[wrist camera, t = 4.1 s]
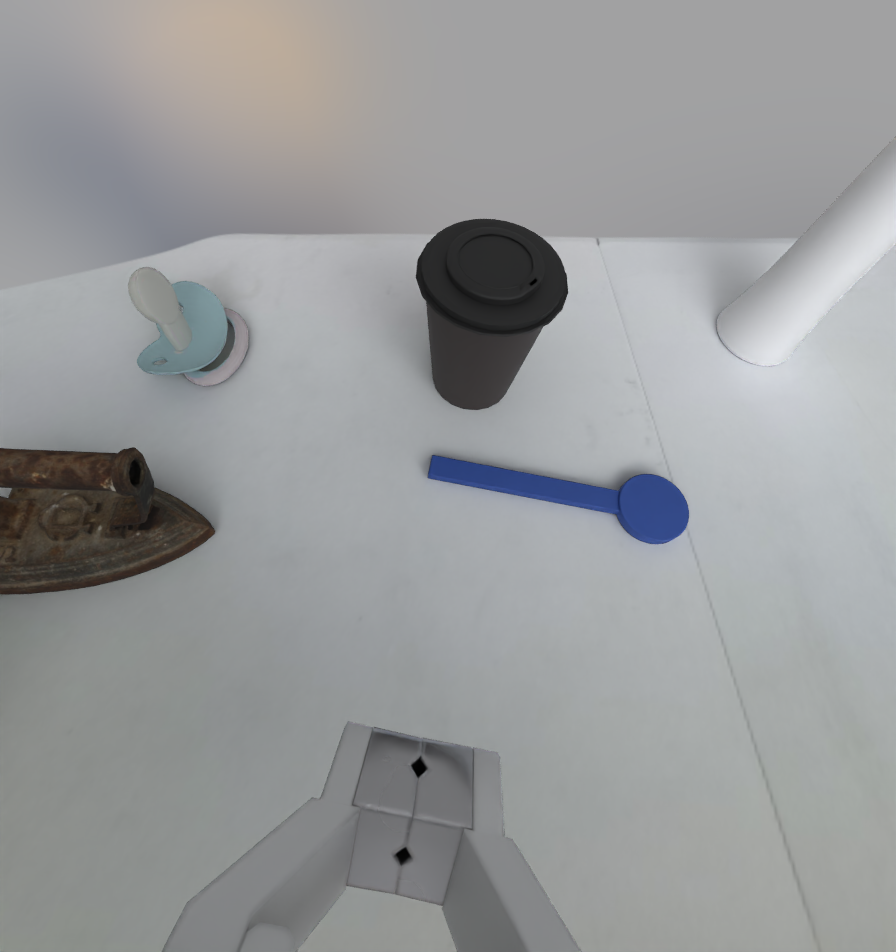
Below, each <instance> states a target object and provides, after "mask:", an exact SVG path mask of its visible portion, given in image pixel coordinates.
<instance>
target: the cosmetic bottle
mask: <svg viewBox="0 0 896 952" xmlns="http://www.w3.org/2000/svg"><path fill="white" fill-rule="evenodd" d="M895 244H896V137H895V138H894V139H893V140H892V141H891V142H890V143H889V144H888V145H887V146H886V147H885V148H884V149H883V150H882V151H881V152H880V153H879V155H878V156H877V157H876V158H875V159H874V160H873V161H872V162H871V163H870V164H869V165H868V166H867V167H866V168H865V169H864V170H863V172H862V173H861V174H860V175H859V176H858V177H857V178H856V179H855V180H854V181H853V182H852V183H851V184H850V185H849V186H848V187H847V188H846V190H845V191H844V192H843V193H842V194H841V195H840V196H839V197H838V198H837V199H836V201H834V202H833V203H832V204H831V206H830V207H829V208H828V209H827V210H826V211H825V212H824V213H823V214H822V215H821V216H820V217H819V218H818V219H817V220H816V221H815V222H814V224H813V225H812V226H811V227H810V228H809V229H808V230H807V231H806V232H805V233H804V234H803V235H802V236H801V237H800V238H799V239H798V240H797V241H796V242H795V244H794V245H793V246H792V247H791V248H790V249H789V250H788V251H787V252H786V253H785V254H784V255H783V256H782V257H781V258H780V259H779V260H778V261H777V262H776V263H775V264H774V265H773V266H772V267H771V268H770V269H769V270H768V271H767V272H766V273H765V274H764V275H762V276H761V277H760V278H759V279H758V280H757V281H756V282H755V283H754V284H753V285H752V286H751V287H750V288H749V289H747V290H746V291H745V292H744V293H743V294H742V295H741V296H739V297H738V298H737V299H736V300H735V301H734V302H732V303H731V304H730V305H729V306H728V307H726V308H725V309H724V310H723V311H722V312H721V313H720V315H719V317H718V320H717V331H718V334H719V337H720V339H721V341H722V342H723V344H724V345H725V346H726V347H727V348H728V349H729V350H730V351H731V352H732V353H733V354H734V355H736V356H737V357H739V358H741V359H742V360H744V361H747V362H749V363H752V364H755V365H760V366H774V365H778V364H781V363H783V362H785V361H786V360H788V359H789V358H790V357H791V355H792V354H793V353H794V352H795V350H796V349H797V348H798V346H799V345H800V344H801V343H802V341H803V340H804V339H805V338H806V336H807V335H808V334H809V333H810V332H811V331H812V329H813V328H814V327H815V326H816V325H817V324H818V323H819V322H820V320H821V319H822V318H823V317H824V316H825V315H826V314H827V313H828V312H829V311H830V310H831V309H832V308H833V306H834V305H835V304H836V303H837V302H838V301H839V300H840V299H841V298H842V297H843V296H844V295H845V294H846V293H847V292H848V291H849V290H850V289H851V288H852V287H853V286H854V285H855V284H856V283H857V282H858V281H859V280H860V279H861V278H862V277H863V276H864V275H865V274H866V273H867V272H868V271H869V270H870V269H871V268H872V267H873V266H874V265H875V264H876V263H877V262H878V261H879V260H880V259H881V258H882V257H883V256H884V255H885V254H886V253H887V252H888V251H889V250H890V249H891V248H892V247H893V246H894V245H895Z"/></svg>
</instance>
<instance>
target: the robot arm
mask: <svg viewBox="0 0 896 952" xmlns="http://www.w3.org/2000/svg"><path fill="white" fill-rule="evenodd" d="M346 886H350V887H356V888H362V889H367V890H373V891H379V892H385V893H391V894H396V895H400V896H404V897H408V898H412V899H417V900H421V901H425V902H429V903H433V904H437V905H441V906H443V907H442V910H443V913H444V916H445V918H446V921H447V924H448V927H449V930H450V932H451V935H452V938H453V941H454V944H455V946H456V949H457V952H582V951H581V950H580V948H579V946H578V945H577V943H576V942H575V940H574V938H573V937H572V935H571V933H570V932H569V930H568V928H567V927H566V925H565V924H564V922H563V920H562V919H561V917H560V915H559V914H558V912H557V910H556V909H555V907H554V906H553V904H552V902H551V901H550V899H549V897H548V896H547V894H546V892H545V891H544V889H543V888H542V886H541V884H540V883H539V881H538V879H537V878H536V876H535V874H534V873H533V871H532V870H531V868H530V866H529V865H528V863H527V861H526V860H525V858H524V856H523V855H522V853H521V852H520V850H519V848H518V847H517V845H516V843H515V842H514V840H513V839H511V838H507V837H505V834H504V816H503V798H502V780H501V762H500V756H499V754H498V752H494V751H489V750H484V749H478V748H472V747H468V746H463V745H458V744H453V743H448V742H443V741H437V740H432V739H427V738H420V737H415V736H411V735H407V734H403V733H398V732H394V731H390V730H385V729H381V728H377V727H374V728H373V727H370V726H366V725H362V724H357V723H353V722H349V721H348V722H347V724H346V726H345V728H344V730H343V733H342V736H341V739H340V742H339V745H338V748H337V751H336V754H335V757H334V760H333V762H332V765H331V768H330V771H329V774H328V777H327V780H326V783H325V786H324V789H323V792H322V795H321V797H320V799H318V798H311V799H310V800H308V801H307V802H306V803H305V804H304V805H302V806H301V807H300V808H299V809H298V810H296V811H295V812H294V813H293V814H292V815H291V816H289V817H288V818H287V819H286V820H285V821H283V822H282V823H281V824H280V825H279V826H277V827H276V828H275V829H274V830H273V831H272V832H270V833H269V834H268V835H267V836H266V837H264V838H263V839H262V840H261V841H260V842H258V843H257V844H256V845H255V846H254V847H253V848H251V849H250V850H249V851H248V852H247V853H245V854H244V855H243V856H242V857H241V858H239V859H238V860H237V861H236V862H235V863H234V864H232V865H231V866H230V867H229V868H228V869H226V870H225V871H224V872H223V873H222V874H220V875H219V876H218V877H217V878H216V879H215V880H213V881H212V882H211V883H210V884H209V885H207V886H206V887H205V888H204V889H203V890H201V891H200V892H199V893H198V894H197V895H196V896H194V897H193V898H192V899H191V900H190V901H188V902H187V904H186V905H185V907H184V909H183V911H182V913H181V915H180V917H179V919H178V921H177V923H176V925H175V927H174V929H173V931H172V932H171V934H170V936H169V938H168V940H167V942H166V944H165V946H164V948H163V950H162V952H296V951H297V950H298V949H299V947H300V946H301V945H302V944H303V942H304V941H305V940H306V939H307V937H308V936H309V935H310V934H311V932H312V931H313V930H314V929H315V927H316V926H317V925H318V924H319V922H320V921H321V920H322V919H323V917H324V916H325V915H326V914H327V912H328V911H329V910H330V908H331V907H332V906H333V905H334V903H335V902H336V901H337V900H338V898H339V897H340V896H341V895H342V893H343V892H344V891H345V890H346Z"/></svg>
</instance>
